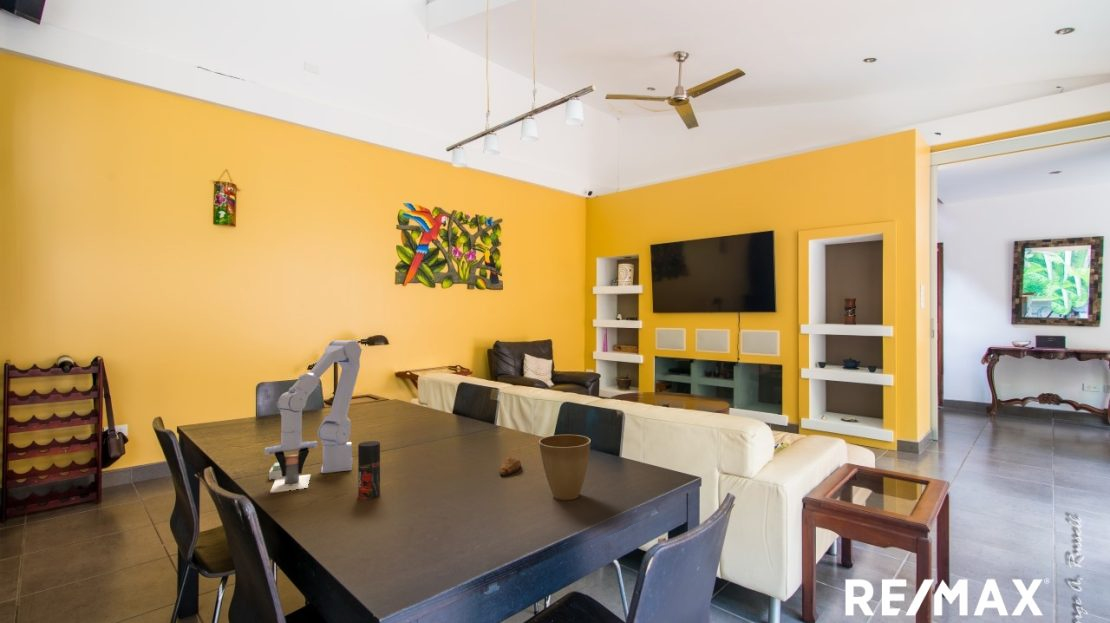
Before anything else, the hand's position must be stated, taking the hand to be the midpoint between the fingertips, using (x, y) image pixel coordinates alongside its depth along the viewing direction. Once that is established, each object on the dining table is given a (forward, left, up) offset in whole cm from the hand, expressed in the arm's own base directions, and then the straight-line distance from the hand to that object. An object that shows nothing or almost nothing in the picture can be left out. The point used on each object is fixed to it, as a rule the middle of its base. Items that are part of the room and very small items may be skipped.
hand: (291, 474), depth 157 cm
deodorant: (-22, +21, -3) cm, 31 cm away
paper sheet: (0, +1, -3) cm, 3 cm away
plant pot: (-74, +44, -3) cm, 86 cm away
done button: (+4, -10, -1) cm, 11 cm away
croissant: (-67, +15, -3) cm, 69 cm away
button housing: (+4, -9, -3) cm, 11 cm away
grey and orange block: (0, 0, -2) cm, 2 cm away
